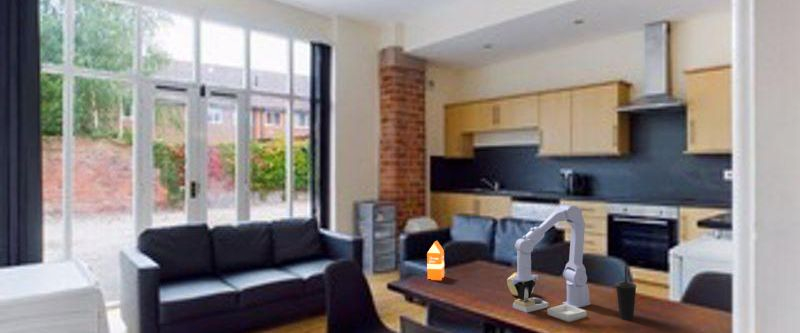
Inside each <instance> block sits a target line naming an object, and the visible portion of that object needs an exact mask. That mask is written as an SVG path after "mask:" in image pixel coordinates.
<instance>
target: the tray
mask: <svg viewBox="0 0 800 333" xmlns="http://www.w3.org/2000/svg"><path fill="white" fill-rule="evenodd" d="M547 316H550V317H553V318H556V319H559V320H561V321H564V322H567V323H570V322H571V323H572V322H574V321H578V320H580V319H581V320H582V319H584V318H587V310H586V309H583V308H580V307H579V308H576V307H573V306H570V305H567V304H563V303H562V304H560V305H556V306H552V307H547Z"/></svg>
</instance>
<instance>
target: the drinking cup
mask: <svg viewBox="0 0 800 333" xmlns="http://www.w3.org/2000/svg"><path fill="white" fill-rule="evenodd" d="M627 270H628V269H627V268H625V267H624V280H621V281H617V282H616V283H615V284H614V285H615V286H616V295H617V304H618V312H619V319H621V320H623V321H633V320H634V315H635V314H634V313H635V304H636V289H637V284H636V283H634V282H631V281H628V272H627Z"/></svg>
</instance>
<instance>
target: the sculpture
mask: <svg viewBox="0 0 800 333" xmlns="http://www.w3.org/2000/svg"><path fill="white" fill-rule="evenodd" d="M516 276H517V271H515V272H513V273H512V274H511V275H510V276H509V277H508V278H507V279H506V282H507V283H506V284H507V287H508V289H509V291H510V293H511V294H512V295H513V296H516V297H519V296H518V292H517V290H516V288H515V286H514V285H513V284H510V279H513V278H515V277H516ZM522 283H523V282H522ZM523 284H524V283H523ZM534 290H535V286H534V287H533V289H532V292H531V295H533V292H534Z"/></svg>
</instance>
